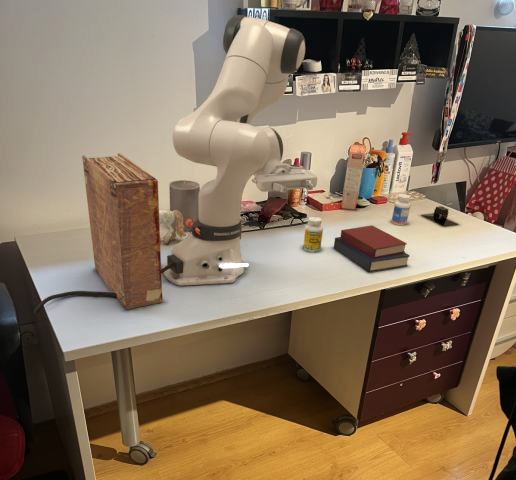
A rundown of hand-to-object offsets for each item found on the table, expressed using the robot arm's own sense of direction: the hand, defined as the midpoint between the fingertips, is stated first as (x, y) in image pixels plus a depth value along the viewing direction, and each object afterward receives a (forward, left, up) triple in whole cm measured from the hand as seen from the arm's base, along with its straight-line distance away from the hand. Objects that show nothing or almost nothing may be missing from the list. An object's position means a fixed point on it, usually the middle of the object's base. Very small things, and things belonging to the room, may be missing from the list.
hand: (297, 188), depth 166 cm
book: (-59, -19, -15) cm, 64 cm away
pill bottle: (+43, 0, -15) cm, 46 cm away
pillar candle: (-31, +18, -15) cm, 39 cm away
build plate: (+60, -2, -15) cm, 62 cm away
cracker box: (+37, +23, -15) cm, 46 cm away
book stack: (+14, -23, -15) cm, 31 cm away
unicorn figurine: (-45, +5, -15) cm, 48 cm away
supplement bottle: (0, -12, -15) cm, 20 cm away
